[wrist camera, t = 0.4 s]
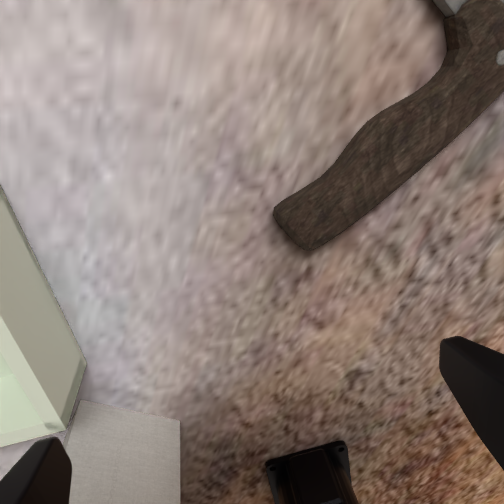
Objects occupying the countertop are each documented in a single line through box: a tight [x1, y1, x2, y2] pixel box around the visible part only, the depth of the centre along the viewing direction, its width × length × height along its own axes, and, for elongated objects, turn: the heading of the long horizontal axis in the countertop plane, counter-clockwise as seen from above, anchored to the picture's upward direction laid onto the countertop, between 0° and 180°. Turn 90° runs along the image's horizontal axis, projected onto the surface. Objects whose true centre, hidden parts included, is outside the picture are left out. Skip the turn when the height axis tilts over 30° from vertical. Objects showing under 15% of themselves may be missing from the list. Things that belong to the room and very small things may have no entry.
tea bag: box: [63, 400, 180, 504], centre depth 23 cm, size 4×7×10 cm, turn 64°
